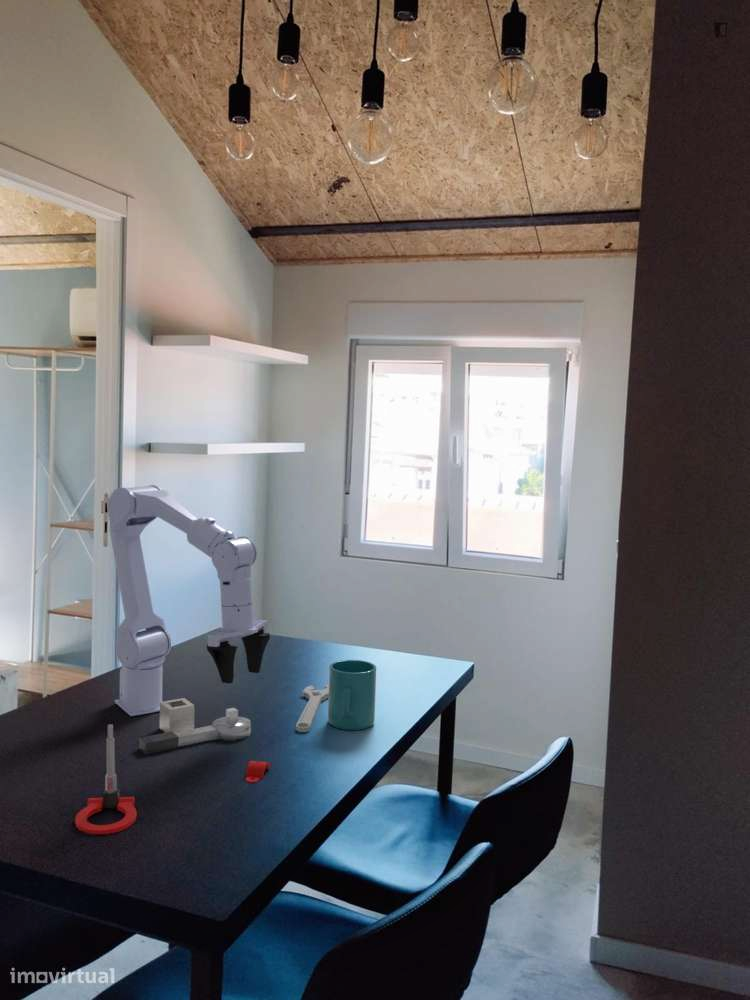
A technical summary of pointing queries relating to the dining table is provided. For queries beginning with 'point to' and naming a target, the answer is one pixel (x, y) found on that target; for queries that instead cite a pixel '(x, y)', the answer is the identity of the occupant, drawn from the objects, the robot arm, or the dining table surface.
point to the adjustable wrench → (311, 707)
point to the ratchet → (199, 733)
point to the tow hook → (108, 799)
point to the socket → (176, 715)
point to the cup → (351, 694)
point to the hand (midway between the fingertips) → (241, 677)
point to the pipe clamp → (256, 771)
